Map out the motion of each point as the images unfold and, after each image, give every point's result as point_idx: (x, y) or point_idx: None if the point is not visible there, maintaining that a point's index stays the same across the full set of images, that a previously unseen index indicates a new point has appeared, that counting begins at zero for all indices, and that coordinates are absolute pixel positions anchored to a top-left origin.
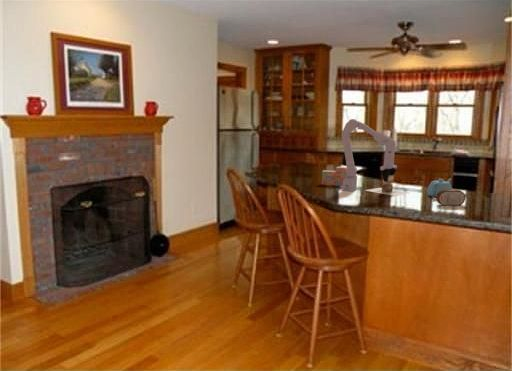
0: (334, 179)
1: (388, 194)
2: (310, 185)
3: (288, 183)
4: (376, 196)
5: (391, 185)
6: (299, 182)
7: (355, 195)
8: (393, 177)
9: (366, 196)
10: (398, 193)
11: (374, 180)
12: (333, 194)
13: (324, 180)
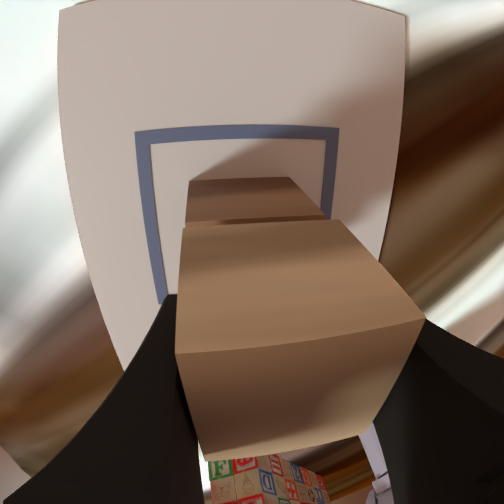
0: (308, 492)
1: (393, 104)
2: (361, 467)
3: (368, 481)
4: (477, 163)
5: (226, 212)
6: (331, 491)
7: (497, 272)
8: (188, 303)
9: (501, 213)
10: (236, 51)
11: (20, 454)
12: (500, 332)
13: (322, 489)
